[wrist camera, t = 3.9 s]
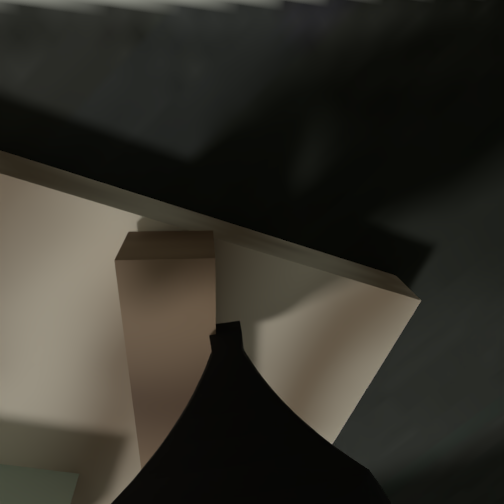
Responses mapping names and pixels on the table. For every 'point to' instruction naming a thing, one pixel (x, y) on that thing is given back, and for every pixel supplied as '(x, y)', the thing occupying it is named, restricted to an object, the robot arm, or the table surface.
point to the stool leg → (165, 324)
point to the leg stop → (35, 485)
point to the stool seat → (111, 328)
